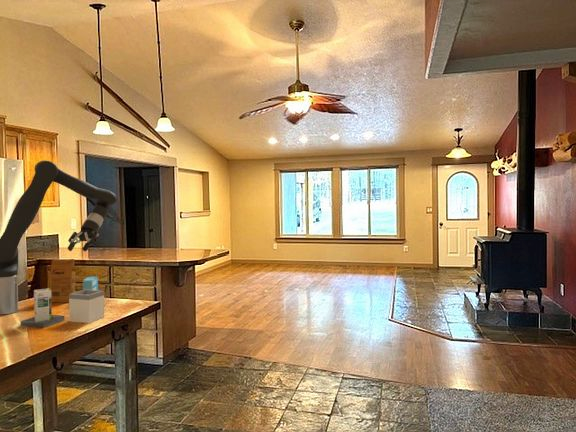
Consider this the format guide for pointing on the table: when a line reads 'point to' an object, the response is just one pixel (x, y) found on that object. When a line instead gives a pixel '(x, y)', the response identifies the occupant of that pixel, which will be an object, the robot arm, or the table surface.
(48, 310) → the syrup box
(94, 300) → the raised dock
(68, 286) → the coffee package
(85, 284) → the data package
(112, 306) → the table surface
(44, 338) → the table surface
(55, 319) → the lower collar
